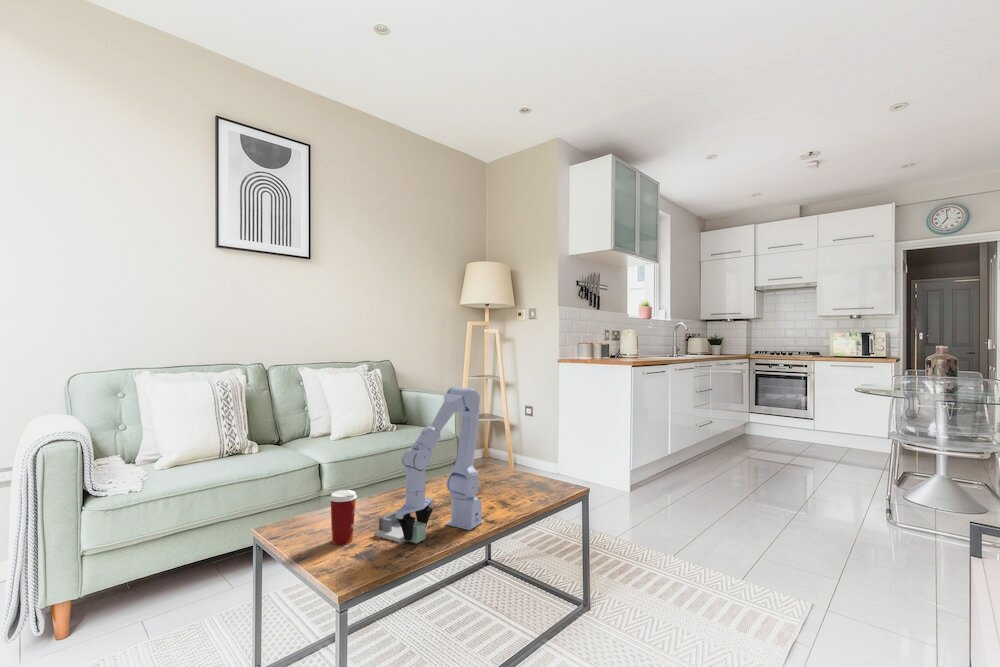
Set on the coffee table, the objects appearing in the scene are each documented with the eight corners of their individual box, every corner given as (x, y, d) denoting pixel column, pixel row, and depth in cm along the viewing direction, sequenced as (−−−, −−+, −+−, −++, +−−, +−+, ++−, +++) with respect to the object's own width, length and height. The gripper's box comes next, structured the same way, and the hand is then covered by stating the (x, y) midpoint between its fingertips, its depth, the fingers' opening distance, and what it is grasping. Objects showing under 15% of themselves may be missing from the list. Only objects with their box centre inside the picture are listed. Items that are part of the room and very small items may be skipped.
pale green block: (425, 540, 141) (425, 523, 141) (416, 545, 137) (417, 527, 137) (412, 537, 143) (412, 520, 143) (403, 541, 140) (403, 524, 140)
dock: (425, 529, 149) (426, 514, 150) (399, 542, 139) (400, 526, 139) (401, 523, 154) (401, 508, 154) (374, 535, 144) (374, 519, 144)
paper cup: (361, 541, 140) (362, 493, 140) (337, 549, 134) (338, 498, 134) (347, 534, 145) (348, 487, 145) (323, 541, 139) (324, 493, 140)
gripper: (420, 481, 149) (419, 525, 148) (388, 493, 136) (387, 541, 136) (438, 485, 145) (437, 530, 145) (407, 497, 133) (406, 547, 132)
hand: (414, 536), depth 140 cm, fingers open, 5 cm apart
